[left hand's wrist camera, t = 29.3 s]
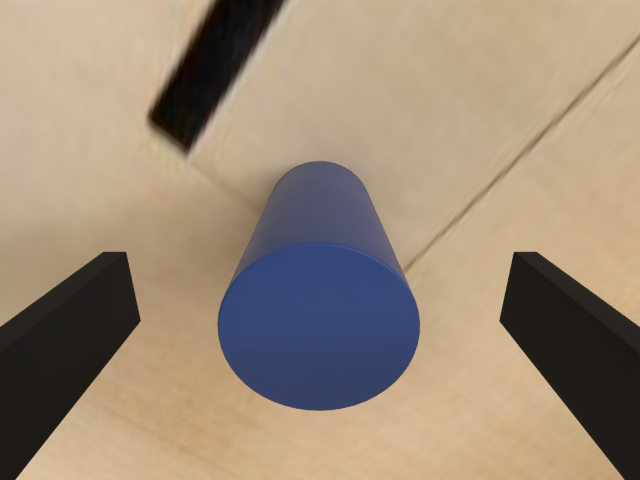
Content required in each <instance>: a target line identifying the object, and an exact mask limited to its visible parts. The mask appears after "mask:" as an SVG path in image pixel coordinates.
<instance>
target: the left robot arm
mask: <svg viewBox="0 0 640 480" xmlns="http://www.w3.org/2000/svg"><path fill="white" fill-rule="evenodd" d="M140 321H141V320H140V316H139V311H138V306H137V301H136V297H135V292H134V287H133V283H132V278H131V273H130V268H129V264H128V259H127V254H126V252H103V253H101V254H100V255H98V256H97V257H96V258H94V259H93V260H92V261H90V262H89V263H87V264H86V265H85V266H83V267H82V268H81V269H79V270H78V271H76V272H75V273H74V274H72V275H71V276H70V277H68V278H67V279H65V280H64V281H63V282H61V283H60V284H59V285H57V286H56V287H54V288H53V289H52V290H50V291H49V292H48V293H46V294H45V295H44V296H42V297H41V298H39V299H38V300H37V301H35V302H34V303H33V304H31V305H30V306H28V307H27V308H26V309H24V310H23V311H22V312H20V313H19V314H17V315H16V316H15V317H13V318H12V319H11V320H9V321H8V322H6V323H5V324H4V325H2V326H1V327H0V480H15V479H16V478H17V477H18V476H19V474H20V473H21V472H22V471H23V469H24V468H25V467H26V466H27V464H28V463H29V462H30V460H31V459H32V458H33V457H34V455H35V454H36V453H37V452H38V450H39V449H40V448H41V447H42V445H43V444H44V443H45V441H46V440H47V439H48V438H49V436H50V435H51V434H52V433H53V431H54V430H55V429H56V428H57V426H58V425H59V424H60V422H61V421H62V420H63V419H64V417H65V416H66V415H67V414H68V412H69V411H70V410H71V409H72V407H73V406H74V405H75V403H76V402H77V401H78V400H79V398H80V397H81V396H82V395H83V393H84V392H85V391H86V390H87V388H88V387H89V386H90V385H91V383H92V382H93V381H94V379H95V378H96V377H97V376H98V374H99V373H100V372H101V371H102V369H103V368H104V367H105V366H106V364H107V363H108V362H109V360H110V359H111V358H112V357H113V355H114V354H115V353H116V352H117V350H118V349H119V348H120V347H121V345H122V344H123V343H124V341H125V340H126V339H127V338H128V336H129V335H130V334H131V333H132V331H133V330H134V329H135V328H136V326H137V325H138V324H139V322H140ZM499 321H500V323H501V324H502V325H503V326H504V328H505V329H506V330H507V331H508V333H509V334H510V335H511V336H512V338H513V339H514V340H515V341H516V343H517V344H518V345H519V347H520V348H521V349H522V350H523V352H524V353H525V354H526V355H527V357H528V358H529V359H530V360H531V362H532V363H533V364H534V366H535V367H536V368H537V369H538V371H539V372H540V373H541V374H542V376H543V377H544V378H545V379H546V381H547V382H548V383H549V385H550V386H551V387H552V388H553V390H554V391H555V392H556V393H557V395H558V396H559V397H560V398H561V400H562V401H563V402H564V403H565V405H566V406H567V407H568V409H569V410H570V411H571V412H572V414H573V415H574V416H575V417H576V419H577V420H578V421H579V422H580V424H581V425H582V426H583V428H584V429H585V430H586V431H587V433H588V434H589V435H590V436H591V438H592V439H593V440H594V441H595V443H596V444H597V445H598V447H599V448H600V449H601V450H602V452H603V453H604V454H605V455H606V457H607V458H608V459H609V460H610V462H611V463H612V464H613V466H614V467H615V468H616V469H617V471H618V472H619V473H620V474H621V476H622V477H623V478H624V479H625V480H640V327H639V326H638V325H636V324H635V323H634V322H632V321H631V320H629V319H628V318H627V317H625V316H624V315H623V314H621V313H620V312H618V311H617V310H616V309H614V308H613V307H612V306H610V305H609V304H607V303H606V302H605V301H603V300H602V299H601V298H599V297H598V296H596V295H595V294H594V293H592V292H591V291H590V290H588V289H587V288H586V287H584V286H583V285H581V284H580V283H579V282H577V281H576V280H575V279H573V278H572V277H570V276H569V275H568V274H566V273H565V272H564V271H562V270H561V269H559V268H558V267H557V266H555V265H554V264H553V263H551V262H550V261H548V260H547V259H546V258H544V257H543V256H542V255H540V254H539V253H537V252H514V254H513V259H512V264H511V268H510V273H509V278H508V283H507V287H506V292H505V297H504V301H503V306H502V311H501V316H500V320H499Z"/></svg>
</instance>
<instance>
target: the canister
mask: <svg viewBox="0 0 640 480" xmlns="http://www.w3.org/2000/svg"><path fill="white" fill-rule="evenodd" d="M419 334H420V319H419V312H418V308H417V305H416V302H415V299H414V297H413V294H412V292H411V290H410V288H409V285H408V283H407V281H406V278H405V276H404V274H403V272H402V269H401V267H400V265H399V263H398V260H397V258H396V256H395V254H394V251H393V249H392V247H391V244H390V242H389V240H388V238H387V235H386V233H385V231H384V229H383V226H382V224H381V222H380V220H379V217H378V215H377V213H376V210H375V208H374V206H373V204H372V201H371V199H370V197H369V195H368V192H367V190H366V188H365V186H364V185H363V183H362V182H361V181H360V179H359V178H358V177H357V176H356V175H355V174H354V173H352V172H351V171H350V170H348V169H346V168H345V167H342V166H340V165H338V164H335V163H330V162H321V161H318V162H310V163H305V164H302V165H300V166H297V167H296V168H294V169H292V170H290V171H289V172H288V173H286V174H285V175H284V176H283V177H282V178H281V179H280V181H279V182H278V183H277V185H276V187H275V188H274V190H273V192H272V195H271V197H270V199H269V201H268V203H267V205H266V207H265V210H264V212H263V214H262V216H261V218H260V220H259V222H258V225H257V227H256V229H255V231H254V233H253V235H252V237H251V240H250V242H249V244H248V246H247V248H246V250H245V252H244V254H243V257H242V259H241V261H240V263H239V265H238V267H237V269H236V272H235V274H234V276H233V278H232V280H231V282H230V284H229V287H228V289H227V291H226V293H225V295H224V298H223V300H222V302H221V306H220V310H219V315H218V336H219V340H220V345H221V348H222V351H223V354H224V356H225V358H226V360H227V362H228V364H229V365H230V367H231V368H232V370H233V371H234V372H235V374H236V375H237V376H238V377H239V378H240V379H241V380H242V381H243V382H244V383H245V384H246V385H247V386H248V387H250V388H251V389H252V390H253V391H255V392H257V393H258V394H260V395H261V396H263V397H265V398H267V399H269V400H271V401H273V402H276V403H279V404H282V405H284V406H288V407H292V408H296V409H303V410H316V411H323V410H335V409H341V408H346V407H350V406H354V405H357V404H360V403H362V402H365V401H367V400H369V399H371V398H373V397H375V396H377V395H378V394H380V393H382V392H383V391H385V390H386V389H387V388H389V387H390V386H391V385H392V384H393V383H394V382H395V381H396V380H397V379H398V378H399V377H400V376H401V375H402V374H403V372H404V371H405V370H406V368H407V367H408V365H409V364H410V362H411V360H412V358H413V356H414V353H415V350H416V347H417V344H418V339H419Z"/></svg>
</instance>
